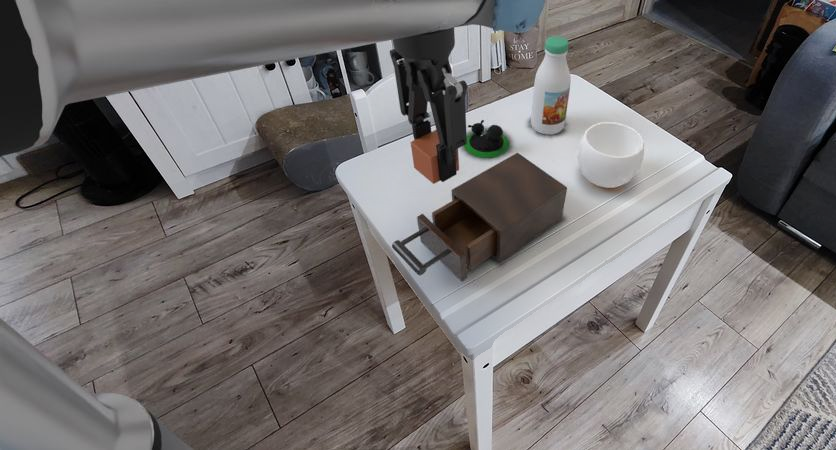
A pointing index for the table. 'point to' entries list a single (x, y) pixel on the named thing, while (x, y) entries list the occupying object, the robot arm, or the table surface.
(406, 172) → the table surface
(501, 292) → the table surface
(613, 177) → the cup
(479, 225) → the drawer
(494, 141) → the toy figurine
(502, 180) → the cabinet
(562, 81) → the milk bottle
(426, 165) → the block
